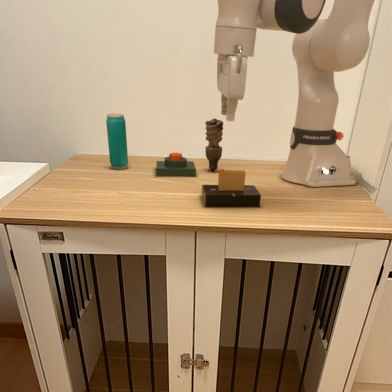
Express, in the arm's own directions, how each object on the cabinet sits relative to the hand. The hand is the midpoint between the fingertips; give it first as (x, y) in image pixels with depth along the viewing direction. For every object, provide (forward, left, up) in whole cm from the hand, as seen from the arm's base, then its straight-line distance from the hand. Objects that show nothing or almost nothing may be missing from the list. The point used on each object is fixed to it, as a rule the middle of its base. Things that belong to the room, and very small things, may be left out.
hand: (227, 117), depth 97 cm
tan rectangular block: (-2, +2, -16) cm, 16 cm away
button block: (+11, -28, -19) cm, 36 cm away
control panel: (-2, +2, -19) cm, 19 cm away
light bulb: (-1, -30, -19) cm, 36 cm away
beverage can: (+29, -33, -19) cm, 48 cm away
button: (+11, -28, -15) cm, 34 cm away
